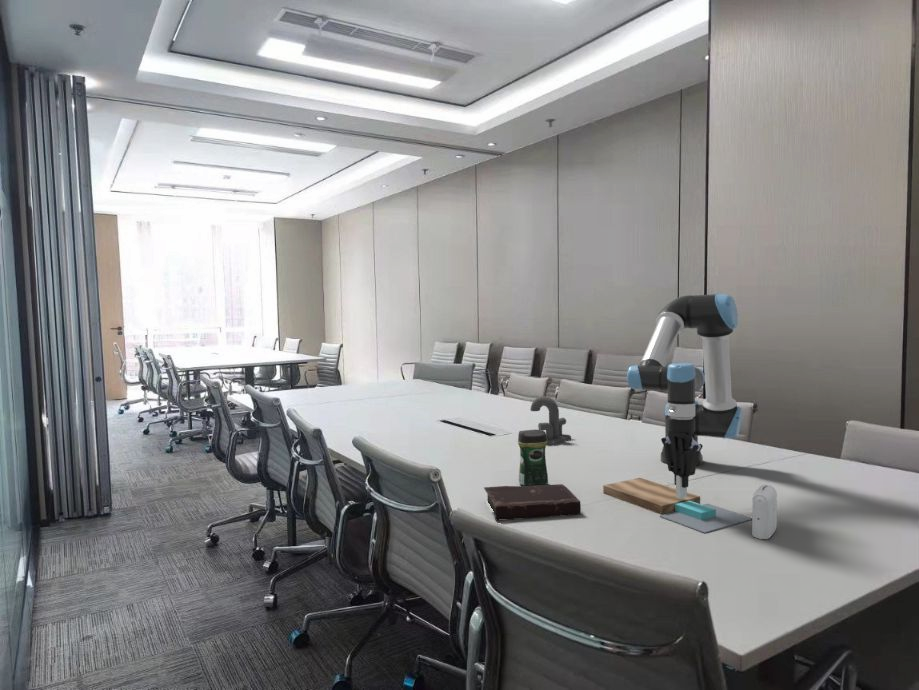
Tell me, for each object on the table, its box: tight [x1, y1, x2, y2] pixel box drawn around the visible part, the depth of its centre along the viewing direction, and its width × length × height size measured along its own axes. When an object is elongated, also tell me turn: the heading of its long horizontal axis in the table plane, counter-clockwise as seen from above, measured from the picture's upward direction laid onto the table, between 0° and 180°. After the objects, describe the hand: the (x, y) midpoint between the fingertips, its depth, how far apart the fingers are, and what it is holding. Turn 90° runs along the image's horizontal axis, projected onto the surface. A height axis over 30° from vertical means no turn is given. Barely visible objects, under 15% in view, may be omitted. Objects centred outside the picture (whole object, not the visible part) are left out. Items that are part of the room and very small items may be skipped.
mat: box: [659, 503, 752, 534], centre depth 167 cm, size 20×15×1 cm
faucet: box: [530, 395, 572, 446], centre depth 271 cm, size 18×16×20 cm
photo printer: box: [751, 484, 778, 540], centre depth 155 cm, size 10×4×12 cm, turn 140°
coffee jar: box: [517, 429, 549, 486], centre depth 202 cm, size 10×8×19 cm
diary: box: [483, 483, 582, 521], centre depth 179 cm, size 19×25×5 cm
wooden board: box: [602, 477, 701, 515], centre depth 185 cm, size 16×24×2 cm, turn 29°
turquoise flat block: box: [674, 501, 716, 520], centre depth 170 cm, size 6×9×2 cm, turn 29°
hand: (681, 497), depth 175 cm, fingers closed
